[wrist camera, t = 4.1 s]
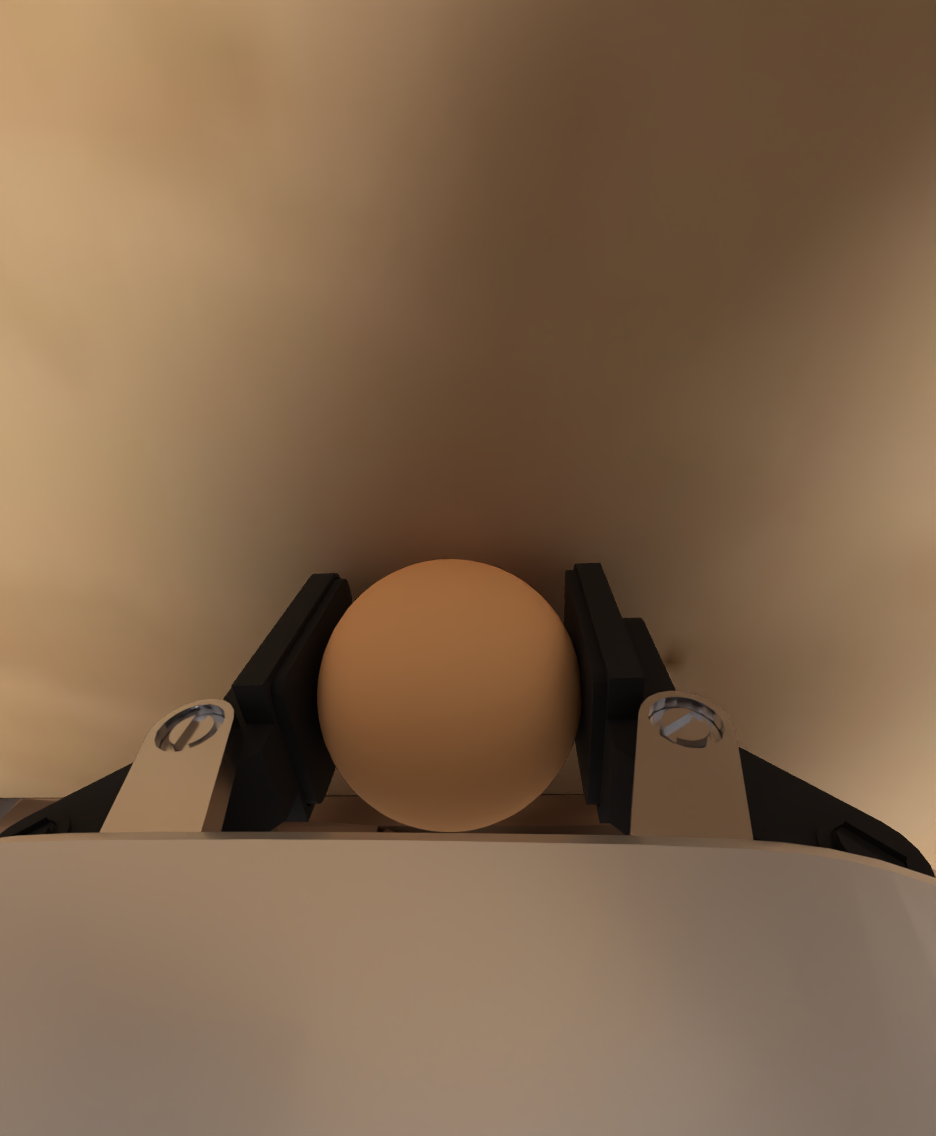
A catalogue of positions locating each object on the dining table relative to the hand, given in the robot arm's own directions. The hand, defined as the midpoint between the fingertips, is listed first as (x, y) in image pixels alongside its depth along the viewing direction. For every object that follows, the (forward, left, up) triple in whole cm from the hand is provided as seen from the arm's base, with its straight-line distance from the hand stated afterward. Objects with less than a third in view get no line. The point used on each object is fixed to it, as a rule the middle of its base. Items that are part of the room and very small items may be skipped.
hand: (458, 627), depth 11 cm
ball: (0, 0, +2) cm, 2 cm away
